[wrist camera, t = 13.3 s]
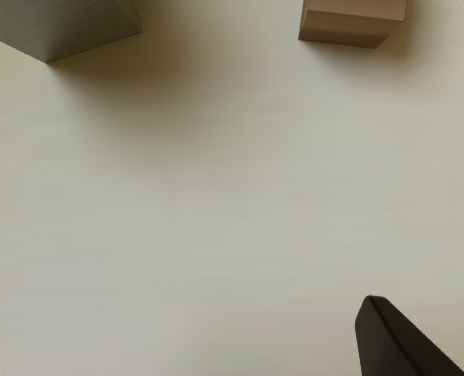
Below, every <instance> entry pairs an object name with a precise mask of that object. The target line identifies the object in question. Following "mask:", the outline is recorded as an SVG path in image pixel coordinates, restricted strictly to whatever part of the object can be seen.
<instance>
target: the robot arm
mask: <svg viewBox="0 0 464 376" xmlns="http://www.w3.org/2000/svg"><path fill="white" fill-rule="evenodd" d="M355 332H356V338H357V345H358V351H359V358H360V365H361V371H362V376H464V372H463V371H462V370H461V369H460V368H459V367H458V366H457V365H456V364H455V363H454V362H453V361H452V360H451V359H450V358H449V357H448V356H447V355H445V354H444V353H443V352H442V351H441V350H440V349H439V348H438V347H437V346H436V345H435V344H434V343H433V342H432V341H431V340H430V339H429V338H428V337H426V336H425V335H424V334H423V333H422V332H421V331H420V330H419V329H418V328H417V327H416V326H415V325H414V324H413V323H412V322H411V321H410V320H409V319H407V318H406V317H405V316H404V315H403V314H402V313H401V312H400V311H399V310H398V309H397V308H396V307H395V306H394V305H393V304H392V303H391V302H390V301H389V300H387V299H386V298H385V297H381V296H372V295H369V296H366V297H365V299H364V301H363V303H362V305H361V308H360V310H359V312H358V315H357V317H356V320H355Z"/></svg>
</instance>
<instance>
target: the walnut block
mask: <svg viewBox="0 0 464 376" xmlns="http://www.w3.org/2000/svg"><path fill="white" fill-rule="evenodd" d="M406 3H407V0H304V2H303V9H302V16H301V23H300V30H299V37H298V39H300V40H308V41H316V42H325V43H333V44H341V45H349V46H358V47H366V48H374V49H375V48H376V47H377V46H378V45H379V44H380V43H381V42H382V41H383V40H384V39H386V38H387V37H388V36H389V35H390V34H391V33H392V32H393V31H394V30H395V29H396V28H397V27H398V26H399V25H400V24H401V23H402V22H403V21H404V16H405V10H406Z"/></svg>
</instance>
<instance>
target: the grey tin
mask: <svg viewBox="0 0 464 376" xmlns="http://www.w3.org/2000/svg"><path fill="white" fill-rule="evenodd" d="M140 32H142V29H141V26H140V22H139V19H138V15H137V12H136V9H135V5H134V2H133V0H0V41H1V42H3V43H5V44H7V45H9V46H11V47H13V48H15V49H17V50H19V51H21V52H23V53H25V54H27V55H29V56H31V57H33V58H36V59H38V60H40V61H42V62H44V63H47V62H50V61H54V60H57V59H60V58H63V57H66V56H69V55H72V54H75V53H78V52H81V51H84V50H87V49H91V48H94V47H97V46H100V45H103V44H106V43H109V42H112V41H115V40H118V39H121V38H124V37H127V36H131V35H134V34H137V33H140Z"/></svg>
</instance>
